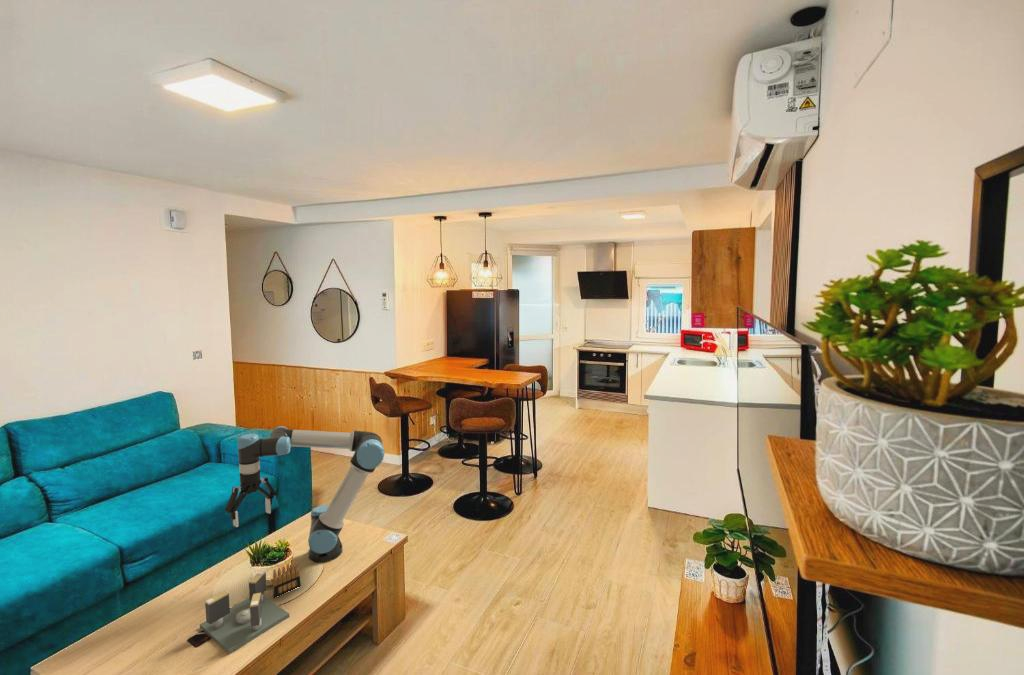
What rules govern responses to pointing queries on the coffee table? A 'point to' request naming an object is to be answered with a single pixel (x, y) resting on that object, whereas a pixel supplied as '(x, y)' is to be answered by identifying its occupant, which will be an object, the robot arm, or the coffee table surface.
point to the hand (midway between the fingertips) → (252, 519)
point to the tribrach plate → (244, 624)
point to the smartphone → (199, 639)
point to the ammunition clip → (286, 580)
